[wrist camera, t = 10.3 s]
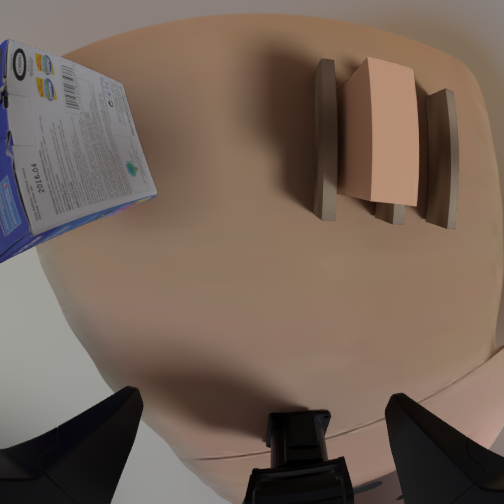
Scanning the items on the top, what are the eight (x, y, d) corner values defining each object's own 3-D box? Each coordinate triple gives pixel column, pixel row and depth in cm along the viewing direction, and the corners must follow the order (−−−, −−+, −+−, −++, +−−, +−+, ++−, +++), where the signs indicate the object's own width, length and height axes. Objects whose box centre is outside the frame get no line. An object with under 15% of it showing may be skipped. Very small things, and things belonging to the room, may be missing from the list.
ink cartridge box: (71, 115, 16) (-72, 102, 3) (123, 80, 16) (-21, 17, 2) (103, 221, 19) (-49, 296, 5) (160, 194, 18) (-13, 256, 4)
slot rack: (433, 222, 17) (454, 229, 15) (313, 213, 18) (321, 220, 15) (432, 99, 15) (453, 91, 12) (313, 75, 15) (321, 58, 12)
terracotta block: (367, 195, 17) (416, 206, 11) (333, 192, 18) (370, 201, 11) (367, 101, 16) (412, 68, 9) (334, 96, 16) (367, 56, 9)
